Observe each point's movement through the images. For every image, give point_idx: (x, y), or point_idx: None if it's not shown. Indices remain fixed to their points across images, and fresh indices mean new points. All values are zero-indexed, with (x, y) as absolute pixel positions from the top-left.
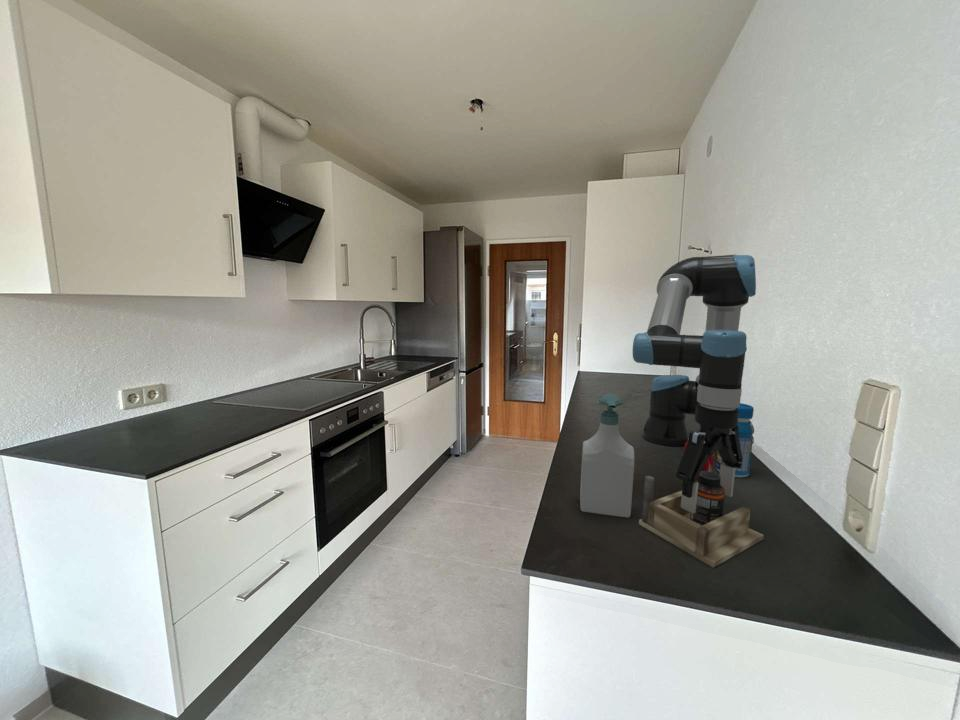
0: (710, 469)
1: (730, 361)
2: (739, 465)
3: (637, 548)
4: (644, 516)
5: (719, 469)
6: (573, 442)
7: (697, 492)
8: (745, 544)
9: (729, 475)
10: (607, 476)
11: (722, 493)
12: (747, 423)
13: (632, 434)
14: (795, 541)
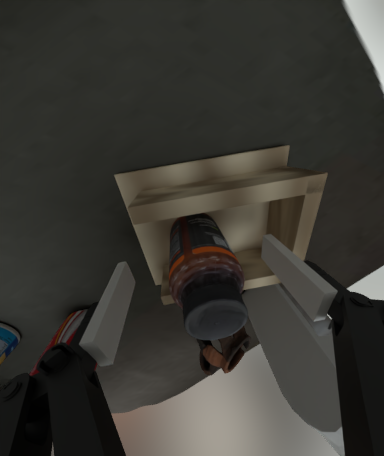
0: (60, 341)
1: None
2: (53, 359)
3: (323, 219)
4: None
5: (17, 339)
6: (179, 389)
7: (297, 267)
8: (181, 165)
9: (110, 316)
10: (332, 340)
11: (204, 256)
12: None
13: None
14: (47, 144)
